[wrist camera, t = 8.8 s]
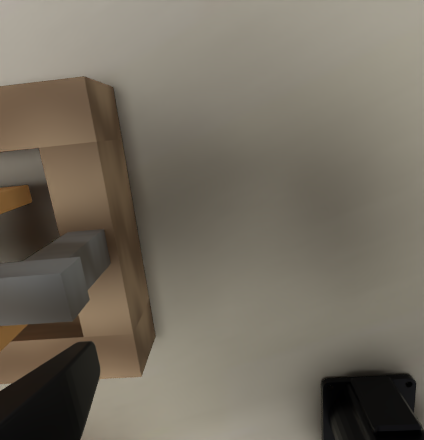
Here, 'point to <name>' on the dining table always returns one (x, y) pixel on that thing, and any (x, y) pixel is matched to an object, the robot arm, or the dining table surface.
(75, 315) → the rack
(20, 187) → the orange arch block
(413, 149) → the dining table surface
